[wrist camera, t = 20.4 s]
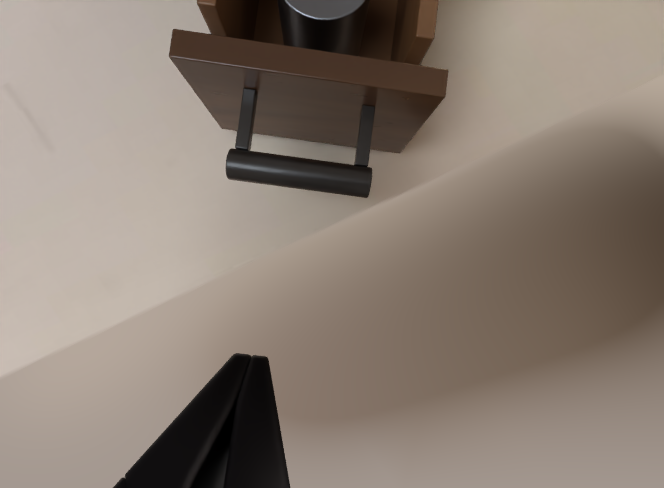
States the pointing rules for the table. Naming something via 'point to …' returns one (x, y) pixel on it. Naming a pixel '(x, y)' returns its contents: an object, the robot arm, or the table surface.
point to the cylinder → (324, 24)
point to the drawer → (312, 88)
